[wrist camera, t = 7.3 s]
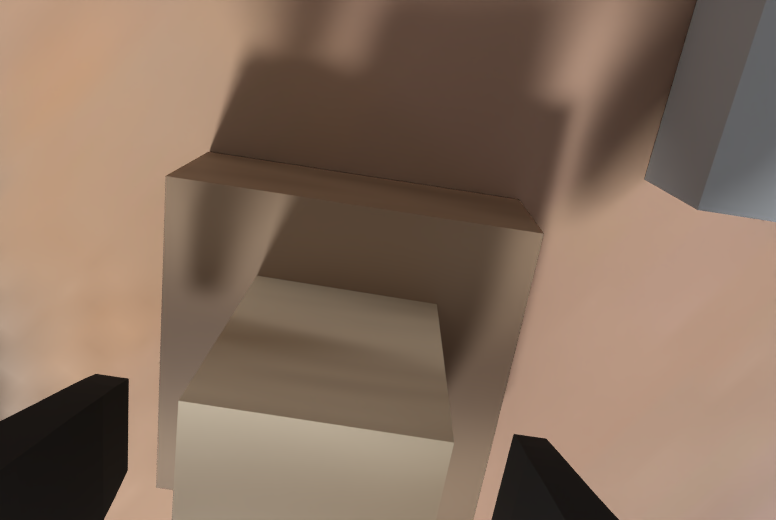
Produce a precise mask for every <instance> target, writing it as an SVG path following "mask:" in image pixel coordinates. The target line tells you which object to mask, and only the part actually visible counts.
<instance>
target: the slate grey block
mask: <svg viewBox="0 0 776 520" xmlns="http://www.w3.org/2000/svg"><path fill="white" fill-rule="evenodd" d="M645 180H646V181H648V182H650V183H651V184H653V185H655V186H657V187H658V188H660V189H662V190H664V191H665V192H667V193H669V194H671V195H672V196H674V197H676V198H678V199H679V200H681V201H683V202H685V203H686V204H688V205H690V206H692V207H693V208H695V209H697V210H702V211H708V212H715V213H721V214H728V215H734V216H741V217H747V218H754V219H760V220H767V221H773V222H776V0H697V2H696V5H695V9H694V12H693V16H692V19H691V22H690V26H689V29H688V33H687V36H686V39H685V43H684V46H683V50H682V53H681V56H680V60H679V63H678V67H677V70H676V73H675V77H674V80H673V84H672V87H671V90H670V94H669V97H668V101H667V104H666V107H665V111H664V114H663V118H662V121H661V124H660V128H659V131H658V134H657V138H656V141H655V145H654V148H653V151H652V155H651V158H650V162H649V165H648V168H647V172H646V175H645Z"/></svg>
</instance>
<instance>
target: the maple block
mask: <svg viewBox="0 0 776 520" xmlns="http://www.w3.org/2000/svg"><path fill="white" fill-rule="evenodd" d="M453 446H454V437H453V429H452V421H451V413H450V405H449V397H448V389H447V381H446V373H445V365H444V357H443V349H442V341H441V333H440V325H439V317H438V310H437V304H432V303H426V302H419V301H413V300H407V299H400V298H394V297H388V296H382V295H375V294H369V293H363V292H356V291H350V290H344V289H338V288H331V287H325V286H319V285H312V284H306V283H300V282H294V281H287V280H281V279H275V278H268V277H262V276H256V278H255V279H254V281H253V283H252V284H251V286H250V287H249V289H248V291H247V292H246V294H245V295H244V297H243V299H242V300H241V302H240V303H239V305H238V307H237V308H236V310H235V311H234V313H233V315H232V316H231V318H230V319H229V321H228V322H227V324H226V326H225V327H224V329H223V330H222V332H221V334H220V335H219V337H218V338H217V340H216V342H215V343H214V345H213V346H212V348H211V350H210V351H209V353H208V354H207V356H206V358H205V359H204V361H203V362H202V364H201V366H200V367H199V369H198V370H197V372H196V373H195V375H194V377H193V378H192V380H191V381H190V383H189V385H188V386H187V388H186V389H185V391H184V393H183V394H182V396H181V397H180V399H179V401H178V416H177V435H176V453H175V471H174V489H173V507H172V520H436V518H437V514H438V510H439V505H440V501H441V497H442V493H443V488H444V484H445V480H446V476H447V471H448V467H449V463H450V459H451V454H452V450H453Z"/></svg>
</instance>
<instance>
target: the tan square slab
mask: <svg viewBox="0 0 776 520" xmlns="http://www.w3.org/2000/svg"><path fill="white" fill-rule="evenodd" d="M543 235H544V233H543V232H542V230H541V229H540V228H539V226H538V225H537V224H536V222H535V221H534V219H533V218H532V217H531V215H530V214H529V213H528V211H527V210H526V208H525V207H524V206H523V204H522V203H521V202H520V200H519V199H512V198H506V197H499V196H493V195H486V194H480V193H473V192H467V191H460V190H454V189H447V188H441V187H434V186H428V185H421V184H415V183H408V182H402V181H395V180H389V179H382V178H376V177H369V176H363V175H356V174H350V173H343V172H337V171H330V170H324V169H317V168H311V167H304V166H298V165H291V164H285V163H278V162H272V161H265V160H259V159H252V158H246V157H239V156H233V155H226V154H220V153H213V152H207V153H206V154H204V155H202V156H200V157H198V158H197V159H195V160H193V161H191V162H190V163H188V164H186V165H184V166H183V167H181V168H179V169H177V170H175V171H174V172H172V173H170V174H168V175H167V176H166V181H165V214H164V247H163V280H162V313H161V346H160V379H159V412H158V445H157V478H156V488H162V489H170V490H173V489H174V471H175V453H176V435H177V416H178V401H179V399H180V397H181V396H182V394H183V393H184V391H185V389H186V388H187V386H188V385H189V383H190V381H191V380H192V378H193V377H194V375H195V373H196V372H197V370H198V369H199V367H200V366H201V364H202V362H203V361H204V359H205V358H206V356H207V354H208V353H209V351H210V350H211V348H212V346H213V345H214V343H215V342H216V340H217V338H218V337H219V335H220V334H221V332H222V330H223V329H224V327H225V326H226V324H227V322H228V321H229V319H230V318H231V316H232V315H233V313H234V311H235V310H236V308H237V307H238V305H239V303H240V302H241V300H242V299H243V297H244V295H245V294H246V292H247V291H248V289H249V287H250V286H251V284H252V283H253V281H254V279H255V278H256V276H262V277H268V278H275V279H281V280H287V281H294V282H300V283H306V284H312V285H319V286H325V287H331V288H338V289H344V290H350V291H356V292H363V293H369V294H375V295H382V296H388V297H394V298H400V299H407V300H413V301H419V302H426V303H432V304H437V310H438V317H439V325H440V333H441V341H442V349H443V357H444V365H445V373H446V381H447V389H448V397H449V405H450V413H451V421H452V429H453V437H454V446H453V450H452V454H451V459H450V463H449V467H448V471H447V476H446V480H445V484H444V488H443V493H442V497H441V501H440V505H439V510H438V514H437V518H436V520H473V519H474V515H475V511H476V507H477V503H478V499H479V495H480V491H481V487H482V483H483V479H484V475H485V471H486V467H487V463H488V458H489V454H490V450H491V446H492V442H493V438H494V434H495V430H496V426H497V422H498V418H499V414H500V410H501V406H502V402H503V398H504V394H505V390H506V385H507V381H508V377H509V373H510V369H511V365H512V361H513V357H514V353H515V349H516V345H517V341H518V337H519V333H520V329H521V325H522V321H523V317H524V312H525V308H526V304H527V300H528V296H529V292H530V288H531V284H532V280H533V276H534V272H535V268H536V264H537V260H538V256H539V252H540V248H541V243H542V239H543Z"/></svg>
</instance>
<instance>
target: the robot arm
mask: <svg viewBox="0 0 776 520" xmlns="http://www.w3.org/2000/svg"><path fill="white" fill-rule="evenodd" d="M128 392H129V379H127V378H120V377H113V376H106V375H99V374H94V375H92V376H90V377H88V378H85V379H83V380H81V381H79V382H77V383H75V384H73V385H71V386H69V387H67V388H65V389H63V390H61V391H59V392H57V393H55V394H53V395H51V396H49V397H47V398H45V399H43V400H41V401H40V402H38V403H36V404H34V405H32V406H30V407H28V408H26V409H24V410H22V411H20V412H18V413H16V414H14V415H12V416H10V417H8V418H6V419H4V420H2V421H0V520H104V518H105V516H106V514H107V512H108V510H109V508H110V506H111V504H112V502H113V500H114V498H115V496H116V494H117V492H118V490H119V488H120V485H121V483H122V481H123V479H124V477H125V475H126V473H127V471H128ZM492 520H619V519H618V518H617V517H616V516H615V515H614V514H613V513H612V512H611V511H610V510H609V509H608V508H607V506H606V505H605V504H604V503H603V502H602V501H601V500H600V499H599V498H598V497H597V495H596V494H595V493H594V492H593V491H592V490H591V489H590V488H589V486H588V485H587V484H586V483H585V482H584V481H583V480H582V479H581V477H580V476H579V475H578V474H577V473H576V472H575V471H574V469H573V468H572V467H571V466H570V465H569V464H568V463H567V461H566V460H565V459H564V458H563V457H562V456H561V455H560V453H559V452H558V451H557V450H556V449H555V448H554V447H553V446H552V445H551V443H550V442H549V441H548V440H547V439H545V438H538V437H531V436H524V435H517V434H514V435H513V439H512V443H511V447H510V451H509V454H508V458H507V462H506V466H505V470H504V474H503V478H502V482H501V485H500V489H499V493H498V497H497V501H496V505H495V509H494V512H493V516H492Z"/></svg>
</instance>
